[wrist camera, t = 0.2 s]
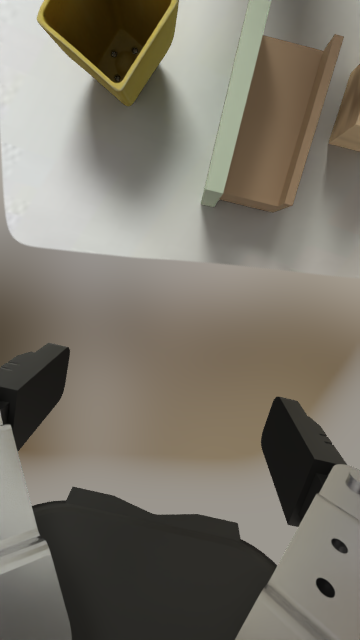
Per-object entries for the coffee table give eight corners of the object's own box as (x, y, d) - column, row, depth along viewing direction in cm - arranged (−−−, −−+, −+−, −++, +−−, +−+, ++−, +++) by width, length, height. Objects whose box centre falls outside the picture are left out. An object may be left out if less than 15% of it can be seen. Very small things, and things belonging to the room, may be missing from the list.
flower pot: (184, 58, 34) (182, -6, 25) (136, 129, 36) (119, 93, 27) (118, -2, 33) (92, -91, 24) (72, 74, 35) (33, 18, 26)
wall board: (237, 49, 33) (259, -41, 23) (314, 69, 34) (372, -11, 23) (200, 204, 37) (205, 189, 27) (270, 221, 38) (302, 212, 27)
